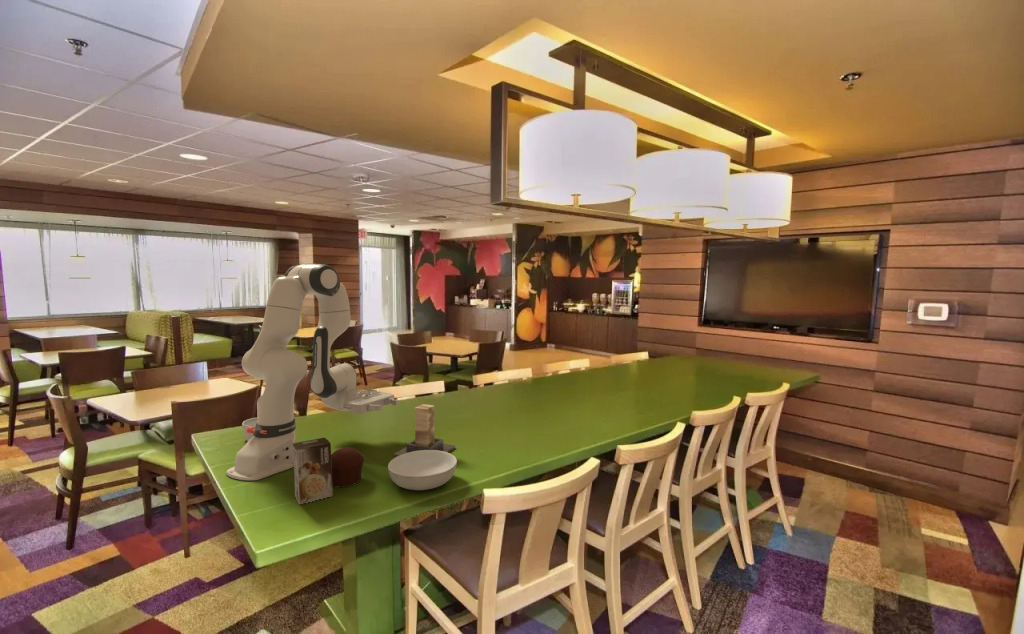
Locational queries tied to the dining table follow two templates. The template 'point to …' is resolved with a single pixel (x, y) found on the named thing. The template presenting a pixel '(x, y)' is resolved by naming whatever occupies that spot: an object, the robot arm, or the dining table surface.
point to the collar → (436, 446)
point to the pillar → (424, 425)
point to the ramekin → (249, 423)
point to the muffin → (346, 466)
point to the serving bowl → (422, 469)
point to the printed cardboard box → (312, 470)
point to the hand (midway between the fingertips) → (389, 405)
